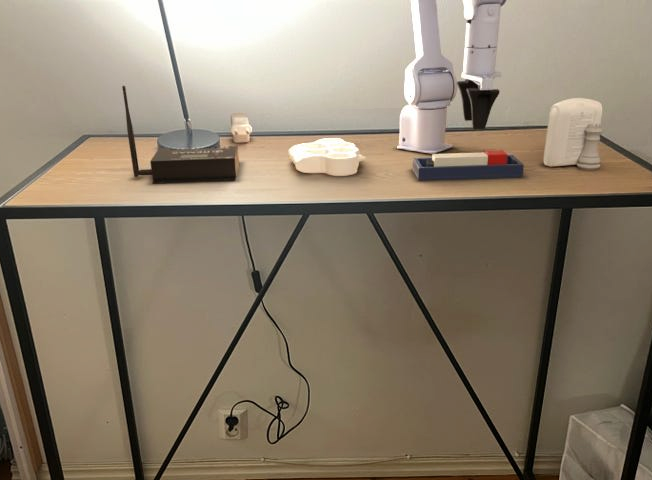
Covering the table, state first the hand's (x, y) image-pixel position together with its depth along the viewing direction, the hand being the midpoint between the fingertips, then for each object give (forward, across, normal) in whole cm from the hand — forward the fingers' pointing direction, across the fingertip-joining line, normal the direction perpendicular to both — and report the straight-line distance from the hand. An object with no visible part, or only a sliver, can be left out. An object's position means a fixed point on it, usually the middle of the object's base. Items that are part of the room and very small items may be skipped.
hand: (474, 124), depth 136 cm
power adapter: (+9, +29, +47) cm, 56 cm away
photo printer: (+9, +2, -20) cm, 22 cm away
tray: (+9, -3, +2) cm, 9 cm away
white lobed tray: (+9, +7, +28) cm, 30 cm away
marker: (+8, -3, +1) cm, 9 cm away
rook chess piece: (+9, -1, -23) cm, 24 cm away
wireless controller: (+9, +4, +56) cm, 57 cm away
